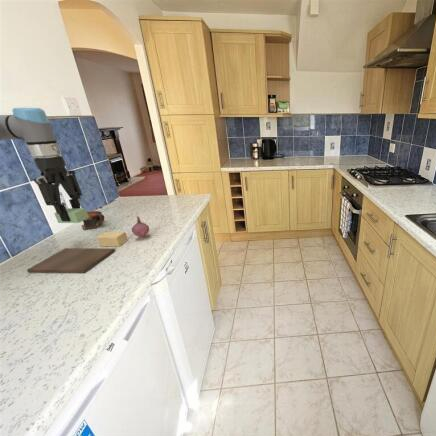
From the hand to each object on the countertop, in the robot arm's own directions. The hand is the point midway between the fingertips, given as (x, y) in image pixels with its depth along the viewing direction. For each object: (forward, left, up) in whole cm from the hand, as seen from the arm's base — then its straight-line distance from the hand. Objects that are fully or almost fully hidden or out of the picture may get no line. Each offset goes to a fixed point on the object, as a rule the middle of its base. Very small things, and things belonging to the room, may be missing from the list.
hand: (72, 217), depth 93 cm
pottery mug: (-10, +18, -12) cm, 24 cm away
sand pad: (+12, +1, -12) cm, 17 cm away
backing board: (+7, -12, -12) cm, 18 cm away
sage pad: (0, 0, -1) cm, 1 cm away
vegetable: (+21, +6, -12) cm, 25 cm away
